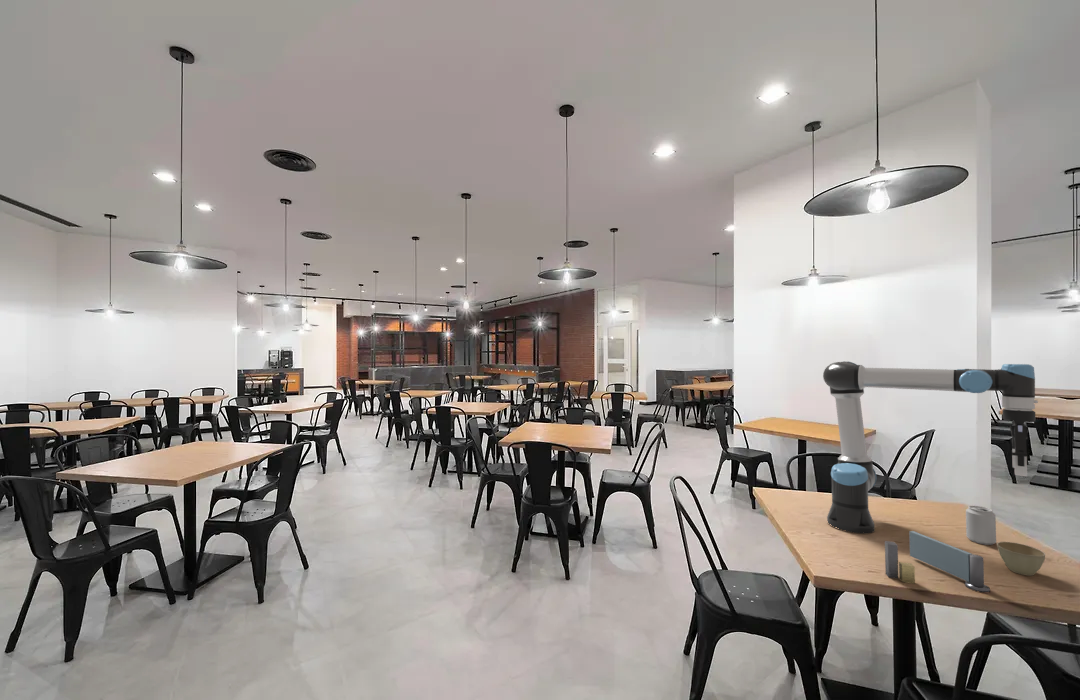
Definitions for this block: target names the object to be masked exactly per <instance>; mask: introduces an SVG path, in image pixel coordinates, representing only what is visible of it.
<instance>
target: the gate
mask: <svg viewBox="0 0 1080 700" xmlns="http://www.w3.org/2000/svg"><path fill="white" fill-rule="evenodd" d="M908 532H909V533H908V536H909V557H912V558H913V559H916V560H918V561H920V562H922V563H925V564H928V565H930V566H931V567H934V568H935V569H936V568H937V569H938V570H941V571H943V572H945V573H947V574H950V575H951V576H954V577H956V578H958V579H960V580H962V581H964V582H965V581H968V582H970V583H971V584H972V585H974V586H977V587H984V585H985V571H984V569H985V568H984V566H985V565H984V557H983V556H981V555H978V554H973V553H971V552H968V551H966V550H964V549H960V548H958V547H955V546H953V545H950V544H948V543H946V542H942V541H939V540H937V539H935V538H932V537H930V536H928V535H924V534H922V533H919V532H917V531H914V530H912V531H910V530H909V531H908Z"/></svg>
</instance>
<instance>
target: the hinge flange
mask: <svg viewBox="0 0 1080 700" xmlns="http://www.w3.org/2000/svg"><path fill="white" fill-rule="evenodd" d="M964 586H965V588H968V589H969V590H971V589H972V591H974V590H975V592H977V591H979V592H978V593H982V592H989V593H990V592H991V589H990V587H989V586H988V585H986V584H984V587H977V586H974V585H972V584H971V583H970V582H968V581H965V580H964Z"/></svg>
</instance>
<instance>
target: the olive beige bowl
mask: <svg viewBox="0 0 1080 700" xmlns="http://www.w3.org/2000/svg"><path fill="white" fill-rule="evenodd" d="M996 546H997V550H998V553H999V555H1000V558H1001V559H1002V561H1003V562H1004V564H1005V566H1006V567H1007V568H1008V570H1010V572H1013V573H1015V574H1018V575H1022V576H1023V575H1024V576H1027V577H1028V576H1034V575H1035V574H1037V572H1039V570H1040V569H1041V568H1042V566H1043V564H1044V561H1045V558H1046V553H1045V552H1044V551H1042V550H1041V549H1039V548H1036V547H1033V546H1030V545H1028V544H1024V543H1019V542H1013V541H999V542H996Z"/></svg>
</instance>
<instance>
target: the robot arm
mask: <svg viewBox="0 0 1080 700" xmlns="http://www.w3.org/2000/svg"><path fill="white" fill-rule="evenodd" d="M1035 375H1036V374H1035V367H1034V366H1033V365H1032V364H1027V363H1004V364H1002V365H1001V368H999V369H987V368H986V369H985V368H984V369H981V368H980V369H979V368H957V369H947V368H946V369H943V368H942V369H941V368H938V369H937V368H935V369H934V368H898V367H896V368H895V367H892V368H891V367H866V366H864V365H863V364H857V363H856V362H851V361H837V362H836V361H835V362H832V363H830V364H829V365H827V366H826V367H825V369H824V370H823V375H822V378H823V381H824V382H825V384H826V385H827V386H828V387H829V392H830V395H831V396H832V397H833V398H834V399H835V400H834V401H835V407H836V408H835V409H836V414H837V415H836V416H837V426H838V434H839V441H840V450H841V455H839V457H837V463H836V464H834V465H833V466H832V467H831V471H830V476H831V506H830V508H829V511H828V514H827V516H826V519H827V520H826V522H827V521H828V523H829V524H831V525H832V526H834V527H833V528H835V527H837V528H839V529H838V530H840V529H842V530H841V531H843V530H846V531H845V532H848V531H849V532H848V533H853V532H854V533H855V534H872V533H874V532H875V529H876V528H875V523H874V520H873V517H872V515H871V513H870V509H869V491H870V490H871V489H872V488H873V487H874V486H875V485H876V482H877V474H876V471H875V468H874V464H873V459H872V458H871V457H869V455H868V453H867V446H866V445H867V444H866V443H867V442H866V437H865V427H864V421H863V412H862V401H861V397H862V396H863V395H864V394H865V390H864V389H865V388H879V389H899V390H900V389H901V390H920V391H921V390H922V391H939V392H940V391H941V392H948V391H949V392H958V393H960V392H963V393H970V394H983V393H986V391H988V392H989V391H990V392H991V391H992V392H1002V393H1001V407H1002V408H1003V409H1002V419H1003V420H1004V421H1009V422H1011V424H1012V425H1011V424H1010V425H1009V431H1010V434H1011V435H1010V436H1011V438H1012V439H1011V440H1012V441H1011V448H1012V450H1011V457H1012V468H1013V469H1014V476H1018V477H1020V476H1021V477H1026V478H1027V477H1028V451H1027V450H1028V448H1027V440H1028V433H1029V427H1028V426H1026V425H1025V423H1035V422H1036V411H1035V409H1036V404H1038V402H1039V401H1038V399H1037V400H1036V398H1035V397H1036V376H1035ZM828 523H827V524H828ZM829 524H828V525H829ZM831 525H830V526H831ZM832 526H831V527H832ZM837 528H836V529H837Z"/></svg>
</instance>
